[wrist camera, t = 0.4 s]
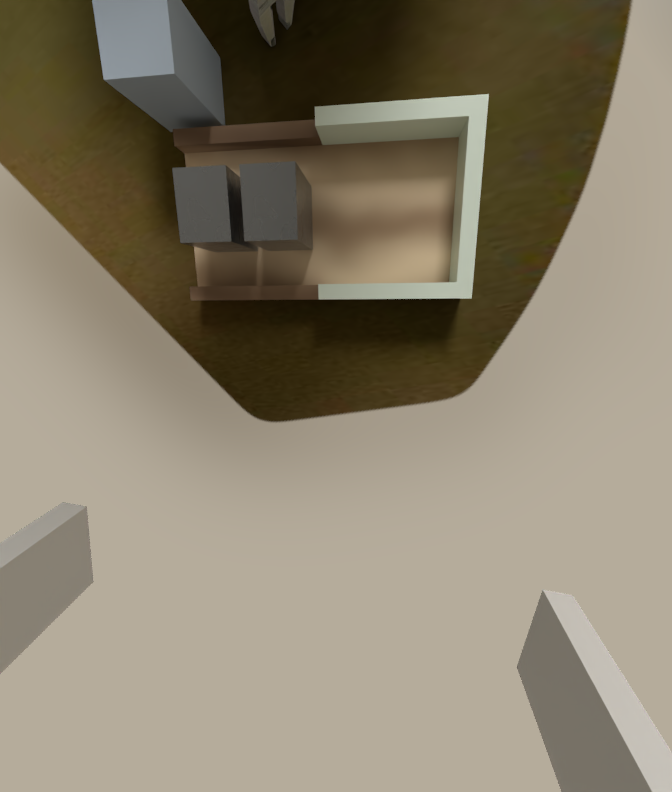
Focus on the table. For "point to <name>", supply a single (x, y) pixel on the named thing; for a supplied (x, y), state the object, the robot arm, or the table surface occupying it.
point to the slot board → (335, 211)
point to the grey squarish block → (210, 208)
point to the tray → (470, 126)
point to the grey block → (160, 61)
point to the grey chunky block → (276, 206)
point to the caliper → (271, 16)
